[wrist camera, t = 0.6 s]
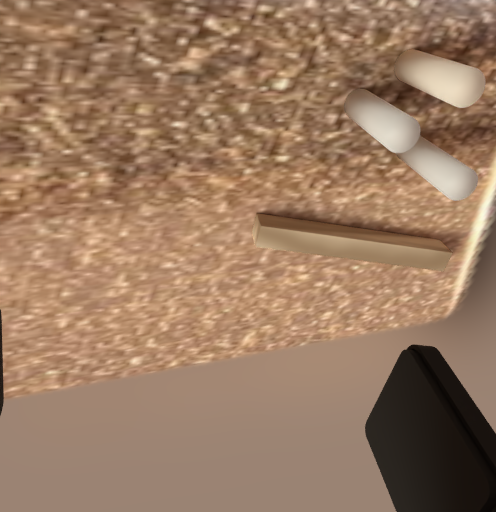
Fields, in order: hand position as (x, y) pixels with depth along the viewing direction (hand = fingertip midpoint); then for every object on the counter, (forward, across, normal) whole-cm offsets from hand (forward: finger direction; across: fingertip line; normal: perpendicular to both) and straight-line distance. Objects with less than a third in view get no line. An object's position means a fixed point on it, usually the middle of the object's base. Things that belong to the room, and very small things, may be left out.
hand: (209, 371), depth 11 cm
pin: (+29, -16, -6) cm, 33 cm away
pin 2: (+29, -19, 0) cm, 34 cm away
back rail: (+29, -16, +9) cm, 34 cm away
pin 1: (+29, -13, -2) cm, 32 cm away
